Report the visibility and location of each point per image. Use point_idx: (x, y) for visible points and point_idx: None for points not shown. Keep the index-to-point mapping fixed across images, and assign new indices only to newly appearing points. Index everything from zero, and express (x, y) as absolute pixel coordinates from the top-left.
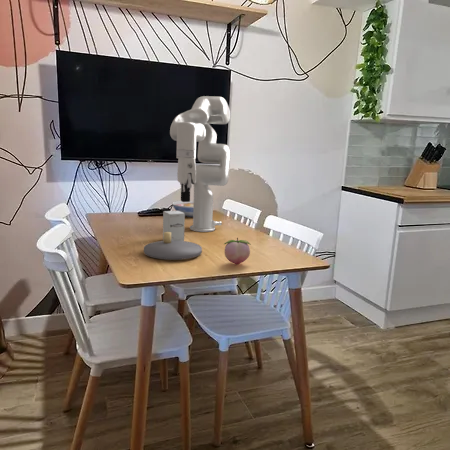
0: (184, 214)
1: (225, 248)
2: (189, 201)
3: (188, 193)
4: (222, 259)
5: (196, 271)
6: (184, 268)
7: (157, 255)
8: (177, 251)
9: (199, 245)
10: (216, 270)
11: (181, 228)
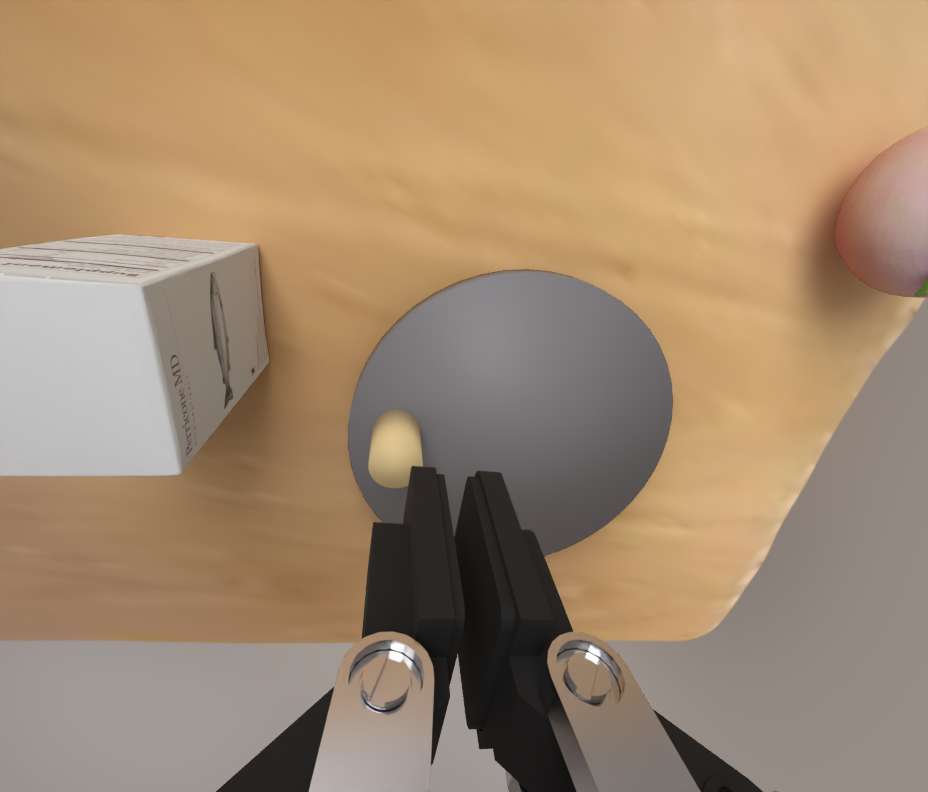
0: (150, 286)
1: (911, 293)
2: (498, 475)
3: (569, 628)
4: (741, 224)
5: (779, 429)
6: (719, 456)
7: (585, 533)
8: (595, 447)
9: (553, 277)
10: (831, 350)
11: (226, 289)
